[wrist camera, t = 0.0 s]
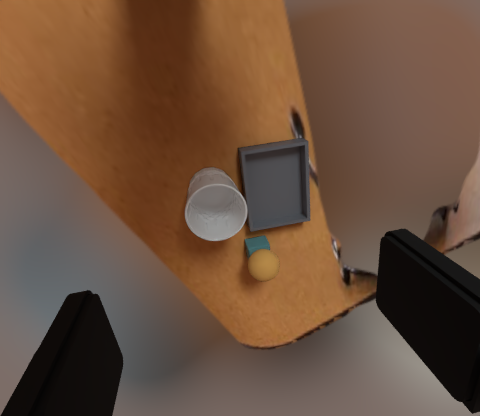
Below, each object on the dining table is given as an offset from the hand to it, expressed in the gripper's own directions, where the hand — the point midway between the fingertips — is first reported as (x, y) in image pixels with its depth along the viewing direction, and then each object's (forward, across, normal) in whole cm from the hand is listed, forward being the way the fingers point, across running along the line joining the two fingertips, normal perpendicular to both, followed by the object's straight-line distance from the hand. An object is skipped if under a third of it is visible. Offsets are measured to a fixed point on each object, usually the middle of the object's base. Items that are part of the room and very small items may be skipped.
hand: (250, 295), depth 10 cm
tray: (+37, -10, +10) cm, 39 cm away
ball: (+31, -6, +21) cm, 38 cm away
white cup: (+37, 0, +9) cm, 38 cm away
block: (+37, -6, +21) cm, 43 cm away
